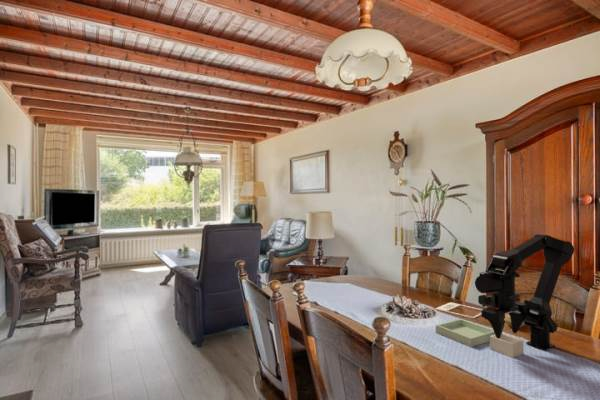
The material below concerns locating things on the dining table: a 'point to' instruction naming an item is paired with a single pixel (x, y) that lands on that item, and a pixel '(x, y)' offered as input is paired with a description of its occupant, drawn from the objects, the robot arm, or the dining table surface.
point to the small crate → (507, 345)
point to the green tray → (465, 332)
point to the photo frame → (451, 306)
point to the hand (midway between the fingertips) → (506, 335)
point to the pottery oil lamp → (508, 320)
